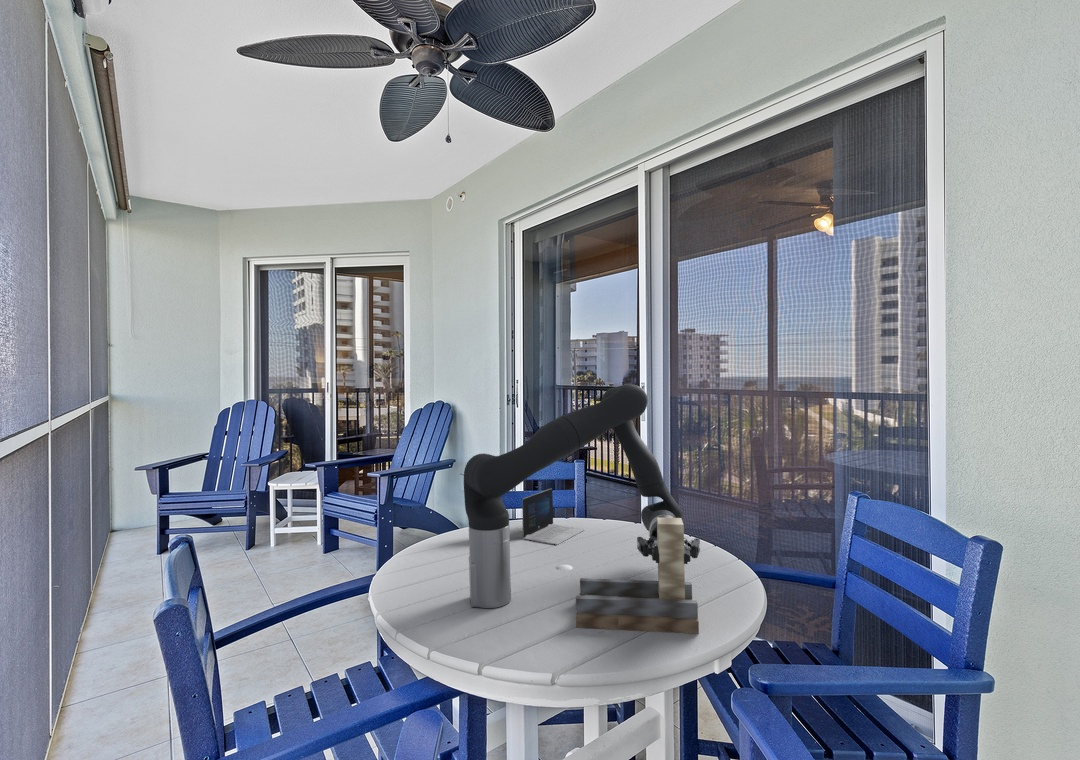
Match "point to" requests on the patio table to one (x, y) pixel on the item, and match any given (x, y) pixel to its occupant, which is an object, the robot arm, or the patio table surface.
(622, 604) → the channel deck
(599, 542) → the patio table surface
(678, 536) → the tall block
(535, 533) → the laptop
